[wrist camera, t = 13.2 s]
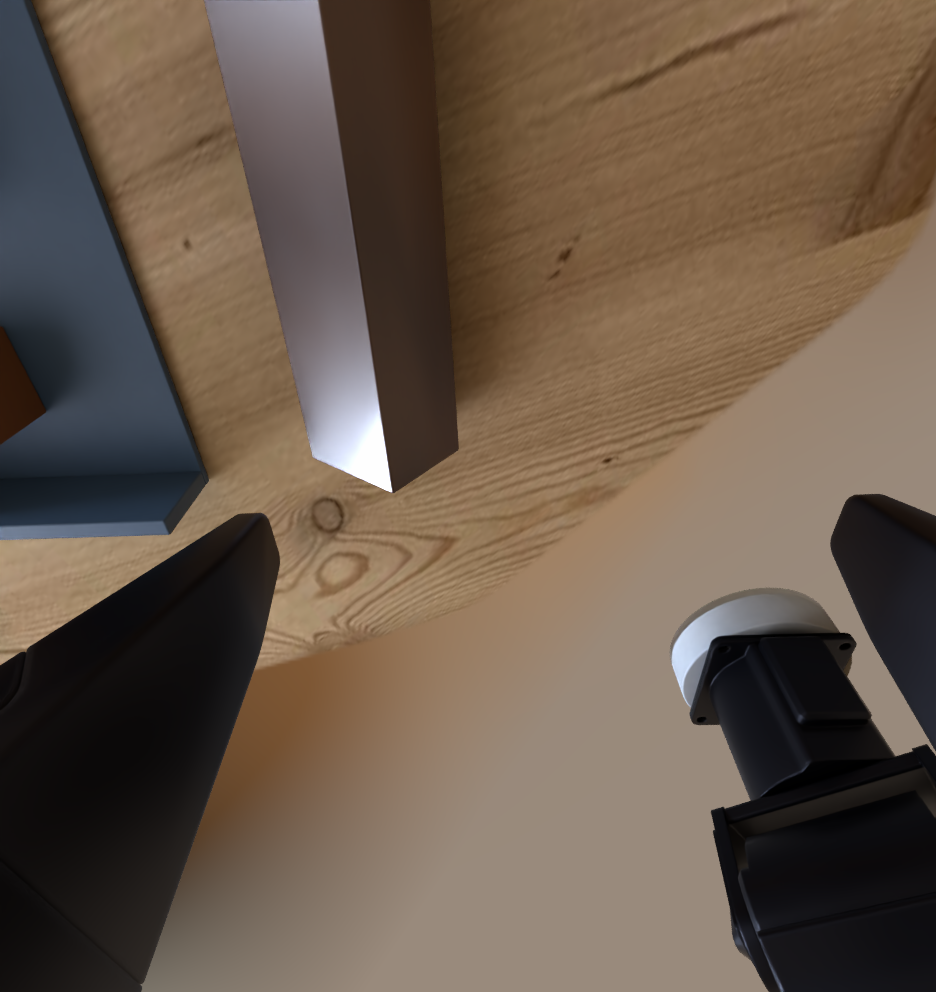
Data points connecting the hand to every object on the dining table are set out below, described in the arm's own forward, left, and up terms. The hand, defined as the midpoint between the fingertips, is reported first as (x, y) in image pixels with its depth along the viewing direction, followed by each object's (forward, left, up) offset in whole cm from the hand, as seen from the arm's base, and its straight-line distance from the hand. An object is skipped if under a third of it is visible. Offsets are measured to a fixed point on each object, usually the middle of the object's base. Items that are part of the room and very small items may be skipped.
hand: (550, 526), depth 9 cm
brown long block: (+3, +3, -10) cm, 11 cm away
